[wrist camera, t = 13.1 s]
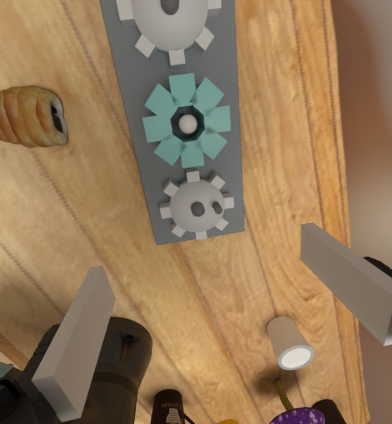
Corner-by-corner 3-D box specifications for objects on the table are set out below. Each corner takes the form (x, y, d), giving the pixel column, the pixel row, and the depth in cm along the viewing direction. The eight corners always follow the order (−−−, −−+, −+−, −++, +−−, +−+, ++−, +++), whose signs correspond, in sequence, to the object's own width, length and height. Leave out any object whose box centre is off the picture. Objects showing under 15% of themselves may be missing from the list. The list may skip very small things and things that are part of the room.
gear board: (157, 240, 36) (153, 273, 29) (90, -49, 23) (48, -134, 15) (241, 226, 37) (260, 256, 29) (227, -64, 23) (255, -154, 15)
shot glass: (277, 309, 45) (294, 341, 39) (301, 319, 47) (322, 351, 41) (257, 331, 47) (270, 365, 41) (281, 340, 49) (298, 374, 43)
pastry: (-1, 148, 29) (-25, 152, 26) (-23, 89, 26) (-53, 84, 23) (74, 144, 30) (60, 148, 26) (60, 86, 27) (43, 82, 24)
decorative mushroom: (307, 384, 57) (349, 470, 43) (260, 401, 58) (288, 490, 44) (296, 356, 52) (340, 443, 38) (246, 375, 53) (272, 466, 39)
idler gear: (157, 162, 30) (153, 172, 24) (142, 87, 26) (134, 80, 21) (221, 152, 30) (232, 161, 25) (216, 78, 27) (227, 68, 21)
